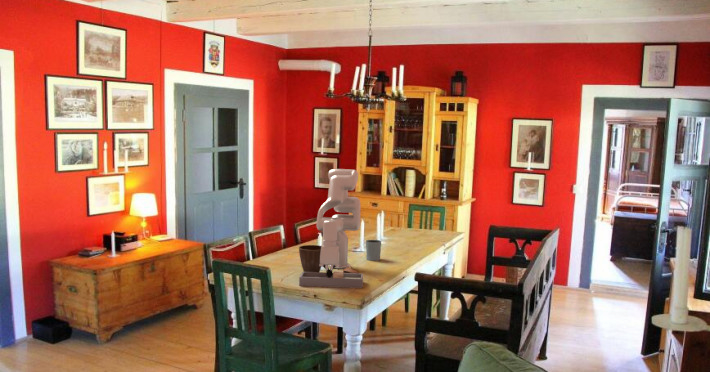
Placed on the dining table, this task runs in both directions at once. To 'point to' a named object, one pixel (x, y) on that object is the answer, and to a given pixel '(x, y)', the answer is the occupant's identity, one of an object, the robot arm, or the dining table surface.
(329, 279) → the eyeshadow palette tray
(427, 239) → the dining table surface
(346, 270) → the sunglasses case
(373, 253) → the grey tapered cup
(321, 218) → the robot arm
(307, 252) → the plant pot
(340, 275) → the maple block
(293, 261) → the dining table surface
